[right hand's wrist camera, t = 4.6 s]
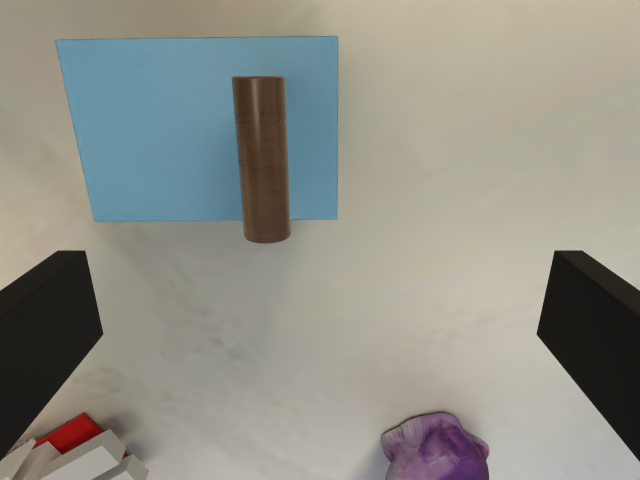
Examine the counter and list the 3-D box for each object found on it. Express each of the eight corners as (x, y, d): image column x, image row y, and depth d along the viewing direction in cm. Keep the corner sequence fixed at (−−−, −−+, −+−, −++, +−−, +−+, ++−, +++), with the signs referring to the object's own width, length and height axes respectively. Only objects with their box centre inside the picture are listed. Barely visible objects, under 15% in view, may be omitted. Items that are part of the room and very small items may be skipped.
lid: (337, 37, 23) (346, 20, 14) (336, 214, 26) (343, 281, 18) (63, 40, 23) (-80, 25, 15) (100, 217, 26) (1, 284, 18)
